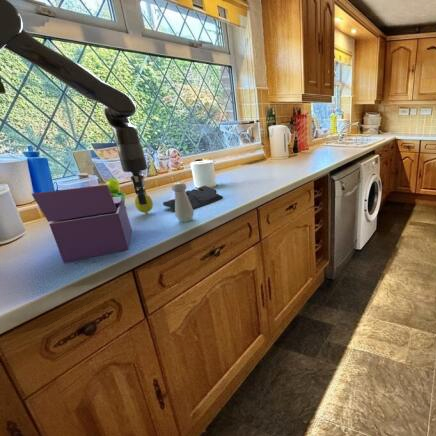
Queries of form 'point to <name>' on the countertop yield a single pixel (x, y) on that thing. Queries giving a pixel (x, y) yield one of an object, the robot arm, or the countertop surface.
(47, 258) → the countertop surface
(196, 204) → the dark slate chunk
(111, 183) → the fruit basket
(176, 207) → the salt shaker
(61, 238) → the carton
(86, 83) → the robot arm
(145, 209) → the lemon
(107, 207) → the flap
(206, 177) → the toilet paper
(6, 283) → the countertop surface
